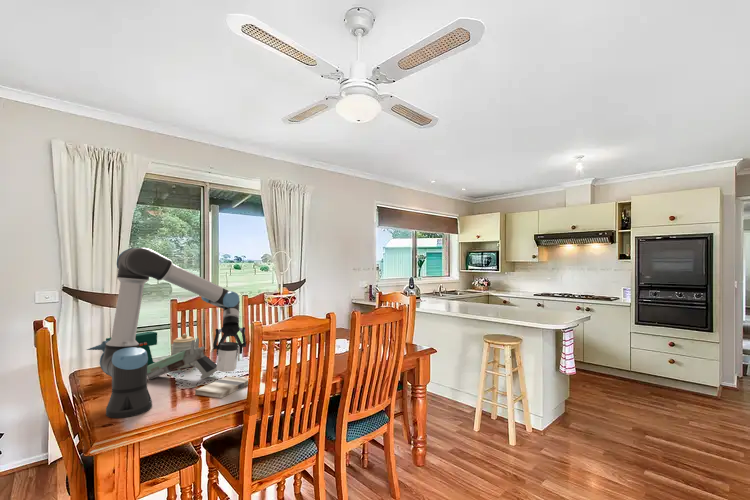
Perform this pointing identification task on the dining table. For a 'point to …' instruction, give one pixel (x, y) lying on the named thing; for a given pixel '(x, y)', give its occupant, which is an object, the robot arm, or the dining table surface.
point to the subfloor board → (222, 387)
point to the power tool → (143, 340)
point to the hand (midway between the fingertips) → (229, 360)
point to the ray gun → (184, 362)
